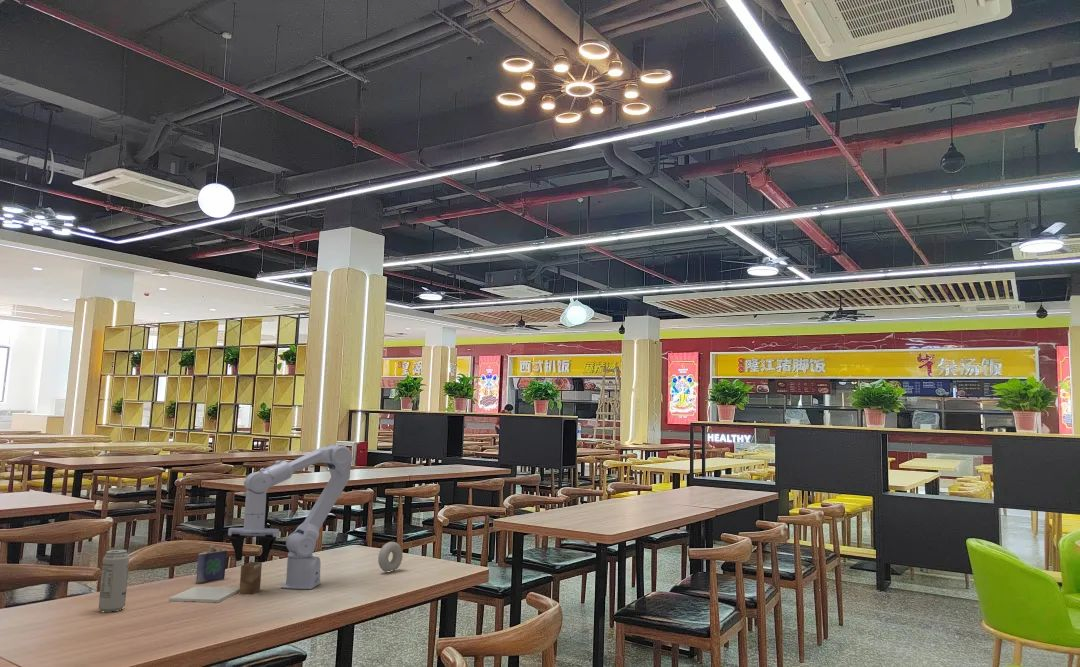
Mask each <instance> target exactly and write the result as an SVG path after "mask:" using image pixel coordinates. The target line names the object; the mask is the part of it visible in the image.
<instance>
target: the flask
mask: <svg viewBox="0 0 1080 667" xmlns="http://www.w3.org/2000/svg"><path fill="white" fill-rule="evenodd" d="M208 548H209V550H208V551H205V552H200V553H198V555H197V566H196V577H195V584H196V583H197V584H198V585H200V584H206V583H213V582H217V581H224V580H225V575H226V567H227V566H226V561H227V553H228V552H227V551H228V550H226V549H223V548H217V549H216V548H215V545H214V544H213V545H212V544H211V545H210V546H208Z"/></svg>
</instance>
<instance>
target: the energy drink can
mask: <svg viewBox="0 0 1080 667" xmlns="http://www.w3.org/2000/svg"><path fill="white" fill-rule="evenodd" d="M105 552H106V553H105V555H104V556H103V558H102V564H101V567H102V568H101V577H100V587H99V589H100V590H99V600H98V609H99V610H100V612H101V611H104V612H110V613H112V612H111V611H117V610H120V609H122V608H123V609H124V607H125V606H126V602H127V601H126V599H127V589H128V588H127V587H128V577H129V576H128V575H129V566H130V565H129V564H130V556H129V553H128V550H127V549H110V550H107V551H105ZM123 609H122V610H123ZM104 612H103V613H104ZM117 612H118V611H117Z"/></svg>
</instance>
